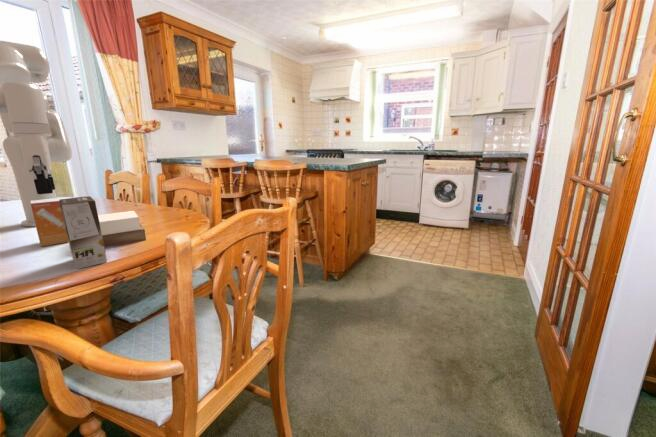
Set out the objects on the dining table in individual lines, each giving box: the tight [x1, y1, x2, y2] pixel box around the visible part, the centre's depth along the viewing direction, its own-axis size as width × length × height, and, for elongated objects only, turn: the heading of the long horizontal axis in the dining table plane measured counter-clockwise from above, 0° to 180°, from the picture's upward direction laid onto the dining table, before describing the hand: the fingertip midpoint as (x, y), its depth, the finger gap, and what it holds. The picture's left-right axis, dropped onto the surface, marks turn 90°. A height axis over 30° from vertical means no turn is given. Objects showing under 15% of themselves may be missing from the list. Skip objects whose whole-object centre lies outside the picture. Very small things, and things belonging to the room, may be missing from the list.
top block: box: [98, 210, 141, 235], centre depth 91 cm, size 11×11×4 cm
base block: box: [102, 223, 147, 248], centre depth 92 cm, size 12×12×4 cm
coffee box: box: [59, 195, 108, 270], centre depth 74 cm, size 9×6×16 cm
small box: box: [31, 196, 69, 248], centre depth 89 cm, size 8×6×13 cm
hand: (46, 191), depth 86 cm, fingers open, 9 cm apart
